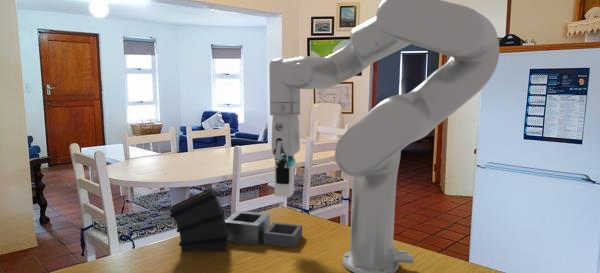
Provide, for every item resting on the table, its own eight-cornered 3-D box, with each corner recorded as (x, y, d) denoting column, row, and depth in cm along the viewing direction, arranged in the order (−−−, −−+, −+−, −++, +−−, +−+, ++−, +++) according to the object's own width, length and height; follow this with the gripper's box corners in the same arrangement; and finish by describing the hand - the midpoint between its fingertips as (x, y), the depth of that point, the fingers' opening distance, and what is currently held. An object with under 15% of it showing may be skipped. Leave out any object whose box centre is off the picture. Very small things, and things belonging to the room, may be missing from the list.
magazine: (239, 245, 99) (211, 190, 97) (189, 268, 99) (160, 214, 97) (240, 238, 103) (213, 186, 101) (192, 261, 103) (164, 209, 101)
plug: (293, 193, 106) (295, 158, 105) (289, 197, 103) (291, 162, 101) (278, 191, 107) (280, 157, 106) (273, 195, 104) (275, 160, 102)
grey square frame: (302, 236, 110) (302, 225, 109) (294, 247, 102) (294, 236, 102) (273, 232, 112) (273, 222, 111) (263, 244, 104) (263, 232, 104)
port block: (269, 231, 113) (270, 213, 112) (257, 244, 104) (258, 225, 103) (237, 227, 115) (237, 210, 114) (223, 240, 106) (222, 222, 105)
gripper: (290, 111, 93) (290, 190, 96) (307, 107, 109) (307, 175, 112) (259, 111, 95) (260, 188, 97) (280, 107, 111) (280, 173, 113)
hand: (285, 180), depth 104 cm, fingers closed on plug, 4 cm apart
